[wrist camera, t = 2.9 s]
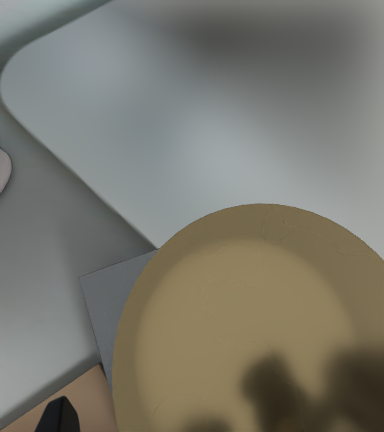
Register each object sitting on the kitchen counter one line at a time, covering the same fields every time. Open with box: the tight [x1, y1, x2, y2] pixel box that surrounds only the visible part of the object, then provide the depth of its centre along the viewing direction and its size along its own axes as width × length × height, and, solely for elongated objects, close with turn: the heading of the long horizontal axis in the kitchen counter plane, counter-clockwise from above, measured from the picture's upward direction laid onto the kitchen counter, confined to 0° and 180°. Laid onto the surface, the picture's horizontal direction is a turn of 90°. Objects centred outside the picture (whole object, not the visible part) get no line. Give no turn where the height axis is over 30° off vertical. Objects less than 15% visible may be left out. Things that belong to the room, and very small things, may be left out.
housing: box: [79, 248, 160, 399], centre depth 16 cm, size 9×9×3 cm
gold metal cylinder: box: [112, 204, 384, 432], centre depth 11 cm, size 5×5×13 cm
